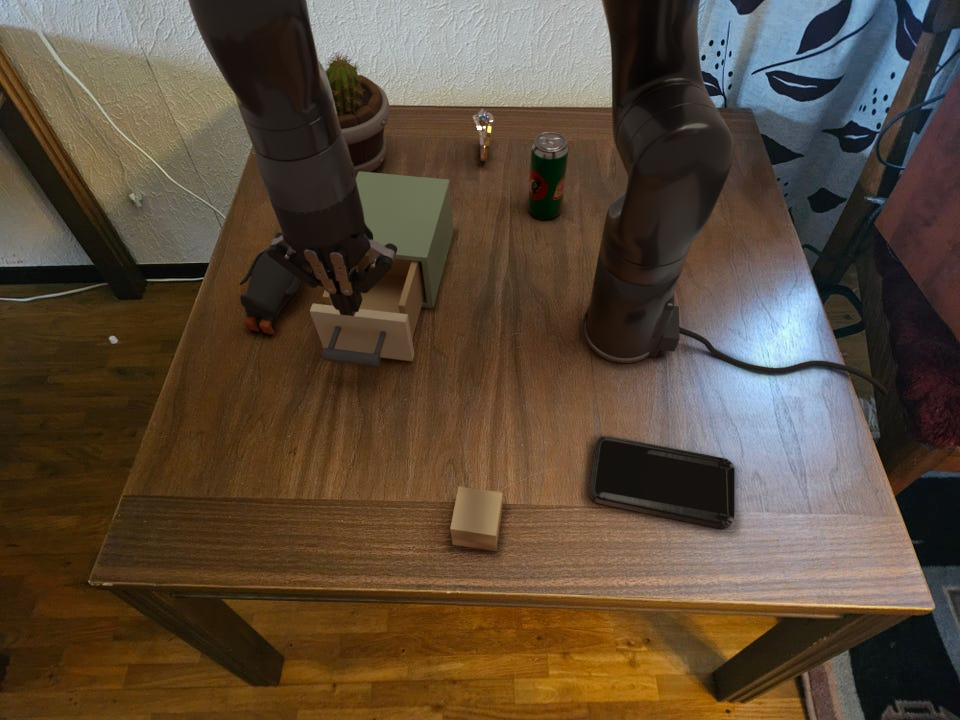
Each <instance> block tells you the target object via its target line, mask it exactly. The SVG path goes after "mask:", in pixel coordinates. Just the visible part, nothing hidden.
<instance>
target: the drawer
mask: <svg viewBox="0 0 960 720" xmlns="http://www.w3.org/2000/svg"><path fill="white" fill-rule="evenodd" d="M369 257H370V256H364V257H363V258H362V259H361V260H360V262H359V263H358V264H357V268H358V272H361V271H363V269H364V268H365V267H366V265H367V264H368V263H369ZM361 295H362V299H363V300H362V303H361V305H360V308H359V311H358V312H356V313H355V315H354V316H347V315H340V313H339V310H336V309H335V308H334V307H333V304H332V301H331V298H330V295H329V293H328V292H326V290H325V289H324V291H323V293H322V296H321V297H322V300H323V303H324V304H321V303H315V302H313V303H312V304H311V307H310V310H309V313H310V317H311V318H312V321H313V324H314V326H315V329H316V332H317V334H318V337H319V341H320V343H321V345H322V349H323V350H322V353H321V359H322V361H324V362H331V363H339V364H347V365H354V366H364V367H369V368H370V367H371V368H379V367H380V365H381V363H382V362H381V360H382V359H390V360H391V359H392V360H398V361H408V362H413V361H414V358H415V354H416V353H415V347H414V343H413V339H414V335H415V332H416V328H417V325H418V322H419V321H418V320H419V317H420V313H421V311H422V308H423V307H422V303H423V299H424V296H425V284H424V277H423V269H422V262H421V261H411V260H402V259H394V262H393V264H392V267H391V269H390V270H389V271H388V272H387V273H386V274H385V275H384V276H383V277H382V278H381V279H380V280H379V281H378V282H377V283H376V284H375V285H374V286H373V287H372V288H371V289H370V290H369V291H368V292H367V293H361Z"/></svg>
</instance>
